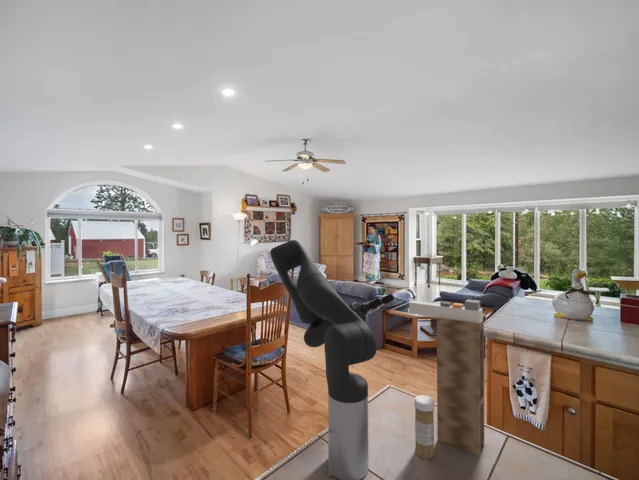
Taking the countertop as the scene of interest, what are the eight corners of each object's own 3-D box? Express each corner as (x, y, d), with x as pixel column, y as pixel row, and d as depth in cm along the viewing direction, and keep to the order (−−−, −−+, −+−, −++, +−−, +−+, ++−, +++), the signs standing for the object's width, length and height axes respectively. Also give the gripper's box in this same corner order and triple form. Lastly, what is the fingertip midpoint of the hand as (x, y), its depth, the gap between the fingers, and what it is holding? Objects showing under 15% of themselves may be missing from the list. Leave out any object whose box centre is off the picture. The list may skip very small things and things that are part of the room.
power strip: (409, 313, 87) (409, 295, 87) (413, 310, 90) (413, 293, 90) (479, 323, 76) (479, 303, 76) (482, 320, 79) (482, 300, 79)
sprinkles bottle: (421, 444, 80) (421, 392, 80) (438, 454, 76) (437, 399, 76) (411, 452, 77) (410, 398, 77) (427, 462, 73) (427, 406, 73)
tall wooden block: (437, 440, 82) (436, 318, 82) (444, 429, 86) (443, 313, 86) (479, 456, 76) (478, 324, 75) (484, 443, 80) (483, 319, 80)
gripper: (332, 310, 101) (370, 290, 92) (355, 303, 112) (391, 284, 103) (341, 333, 99) (382, 314, 90) (364, 323, 110) (402, 305, 101)
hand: (387, 298), depth 97 cm, fingers open, 8 cm apart
